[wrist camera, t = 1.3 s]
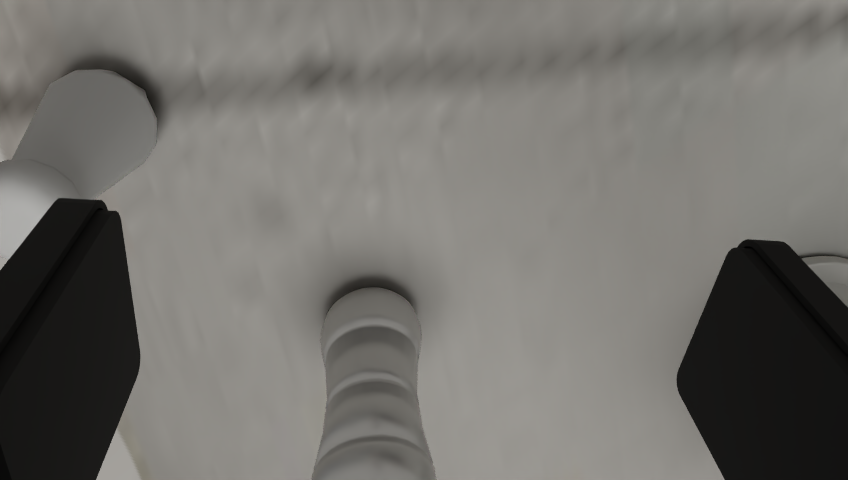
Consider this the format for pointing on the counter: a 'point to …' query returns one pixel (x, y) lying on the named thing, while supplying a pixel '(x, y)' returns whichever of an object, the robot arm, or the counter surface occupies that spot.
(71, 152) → the salt shaker
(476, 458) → the counter surface
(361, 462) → the plastic bottle
